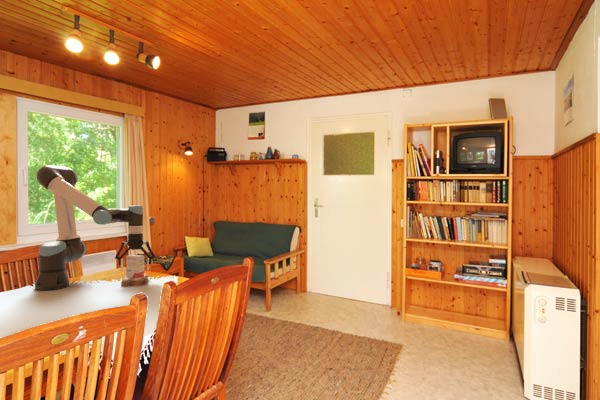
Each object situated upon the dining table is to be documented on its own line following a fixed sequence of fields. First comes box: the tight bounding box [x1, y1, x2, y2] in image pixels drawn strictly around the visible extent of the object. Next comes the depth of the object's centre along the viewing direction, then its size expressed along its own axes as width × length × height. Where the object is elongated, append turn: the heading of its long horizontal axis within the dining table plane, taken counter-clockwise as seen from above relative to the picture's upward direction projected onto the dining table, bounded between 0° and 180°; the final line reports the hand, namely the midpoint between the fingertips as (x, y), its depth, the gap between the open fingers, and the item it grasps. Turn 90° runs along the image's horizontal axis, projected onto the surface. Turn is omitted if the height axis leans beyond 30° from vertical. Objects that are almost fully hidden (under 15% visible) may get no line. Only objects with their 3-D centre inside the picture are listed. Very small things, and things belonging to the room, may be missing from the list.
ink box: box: [125, 254, 145, 278], centre depth 204 cm, size 9×5×12 cm, turn 77°
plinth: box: [121, 273, 149, 287], centre depth 204 cm, size 12×14×4 cm
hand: (135, 270), depth 204 cm, fingers open, 13 cm apart
